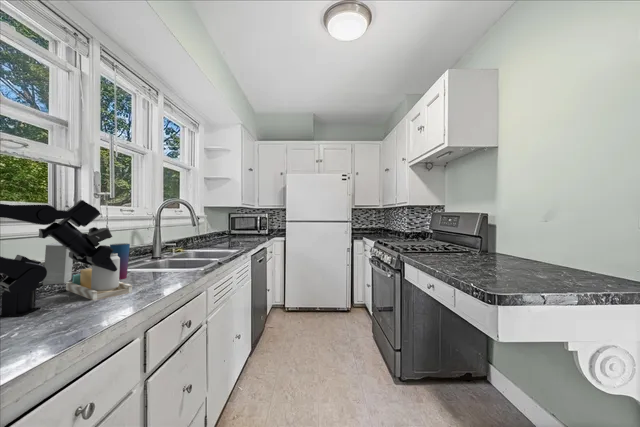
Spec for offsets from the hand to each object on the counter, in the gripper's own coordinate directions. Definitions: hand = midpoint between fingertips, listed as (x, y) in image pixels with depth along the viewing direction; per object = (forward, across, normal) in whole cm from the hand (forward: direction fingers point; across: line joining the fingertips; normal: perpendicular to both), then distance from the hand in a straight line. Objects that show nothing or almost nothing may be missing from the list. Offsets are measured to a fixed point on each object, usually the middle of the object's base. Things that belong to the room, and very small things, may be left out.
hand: (110, 269), depth 97 cm
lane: (+5, +6, +7) cm, 10 cm away
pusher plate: (+5, +14, +6) cm, 16 cm away
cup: (+15, +22, -2) cm, 27 cm away
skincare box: (+4, +33, +9) cm, 35 cm away
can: (+4, 0, +6) cm, 7 cm away
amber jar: (+5, +10, +6) cm, 13 cm away
